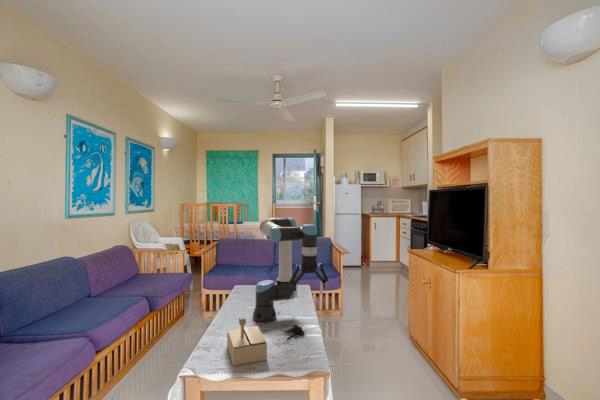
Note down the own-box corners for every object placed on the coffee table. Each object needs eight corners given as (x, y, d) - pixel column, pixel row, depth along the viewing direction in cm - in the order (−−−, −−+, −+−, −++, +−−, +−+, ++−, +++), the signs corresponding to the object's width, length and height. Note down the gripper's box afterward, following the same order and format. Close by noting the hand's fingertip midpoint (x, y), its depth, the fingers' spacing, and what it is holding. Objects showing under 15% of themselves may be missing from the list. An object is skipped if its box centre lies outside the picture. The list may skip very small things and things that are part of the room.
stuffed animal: (304, 327, 184) (305, 322, 174) (304, 345, 178) (304, 341, 169) (284, 326, 184) (284, 321, 174) (284, 344, 179) (283, 340, 169)
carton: (227, 346, 161) (227, 329, 161) (257, 341, 166) (257, 325, 166) (233, 366, 142) (233, 347, 142) (266, 360, 148) (267, 341, 148)
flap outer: (227, 331, 160) (227, 312, 160) (242, 329, 163) (242, 311, 163) (233, 348, 143) (233, 327, 142) (249, 345, 145) (249, 325, 145)
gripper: (287, 257, 151) (286, 300, 151) (334, 255, 158) (334, 296, 158) (283, 254, 158) (283, 295, 158) (329, 252, 165) (329, 292, 165)
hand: (308, 296), depth 158 cm, fingers open, 13 cm apart
